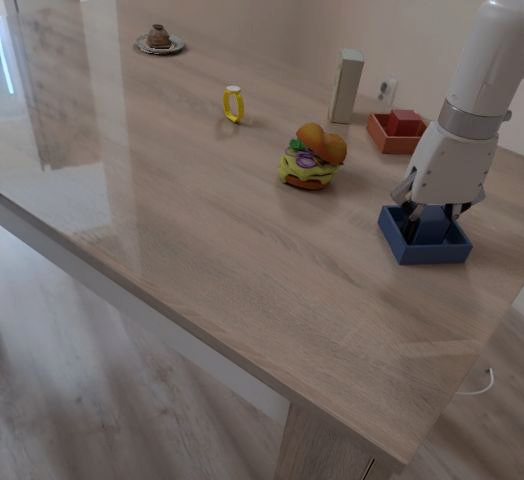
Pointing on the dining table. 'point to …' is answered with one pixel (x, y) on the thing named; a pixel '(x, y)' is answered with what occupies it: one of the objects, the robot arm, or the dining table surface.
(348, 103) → the cosmetic box
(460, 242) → the blue tray
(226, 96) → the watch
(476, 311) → the dining table surface
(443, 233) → the blue block
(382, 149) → the terracotta tray
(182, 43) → the pastry
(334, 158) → the cheeseburger
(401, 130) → the red block
